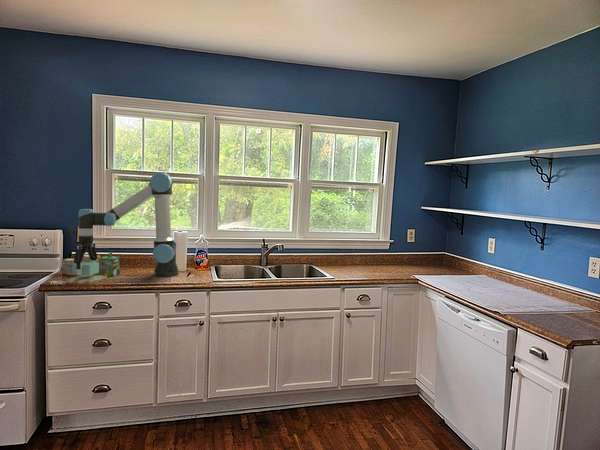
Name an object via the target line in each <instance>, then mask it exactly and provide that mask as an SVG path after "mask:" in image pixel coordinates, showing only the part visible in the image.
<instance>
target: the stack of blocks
mask: <svg viewBox="0 0 600 450" xmlns="http://www.w3.org/2000/svg"><path fill="white" fill-rule="evenodd" d="M97 257H98V258H97V260H95V262H98V263H99V258H101V255H98V254H97ZM90 260H91V259H90V257H89V254H84V256H83V259H82V262H90ZM61 262H62V264H61V265H62V275H69V276H74V275H73V264H76V263H74V258H65V259H62V261H61ZM93 275H99V273H96V274H93Z"/></svg>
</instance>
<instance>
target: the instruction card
mask: <svg viewBox="0 0 600 450" xmlns="http://www.w3.org/2000/svg"><path fill="white" fill-rule="evenodd" d="M50 282H51V283H50V284H49V285H58V284H59V283H60V284H61V283H62V284H61V285H64V284H68V283H67V282H64V280H51V281H50ZM52 282H53V284H52ZM45 283H46V282H45ZM45 283H44V285H46V284H45ZM63 283H64V284H63Z"/></svg>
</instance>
